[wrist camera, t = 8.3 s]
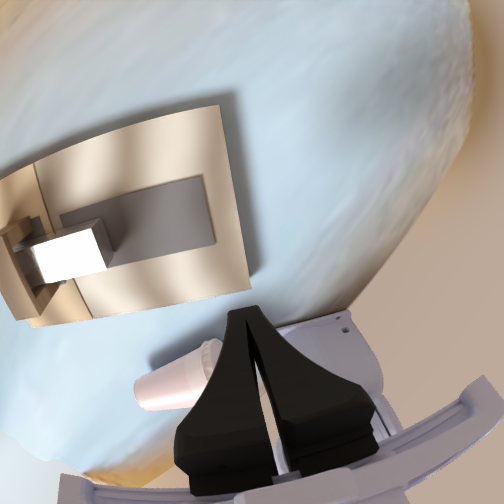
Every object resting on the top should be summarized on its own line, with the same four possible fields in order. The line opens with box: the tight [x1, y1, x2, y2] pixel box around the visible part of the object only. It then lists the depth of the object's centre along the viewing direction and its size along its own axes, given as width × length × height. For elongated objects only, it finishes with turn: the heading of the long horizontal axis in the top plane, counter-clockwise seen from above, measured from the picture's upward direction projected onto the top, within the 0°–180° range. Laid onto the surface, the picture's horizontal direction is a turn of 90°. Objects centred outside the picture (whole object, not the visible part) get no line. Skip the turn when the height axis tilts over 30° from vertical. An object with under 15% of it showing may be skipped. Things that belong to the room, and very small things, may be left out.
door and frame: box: [0, 104, 252, 328], centre depth 17 cm, size 22×14×6 cm, turn 99°
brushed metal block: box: [12, 217, 115, 287], centre depth 17 cm, size 9×3×2 cm, turn 99°
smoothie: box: [134, 338, 255, 411], centre depth 24 cm, size 6×6×14 cm
